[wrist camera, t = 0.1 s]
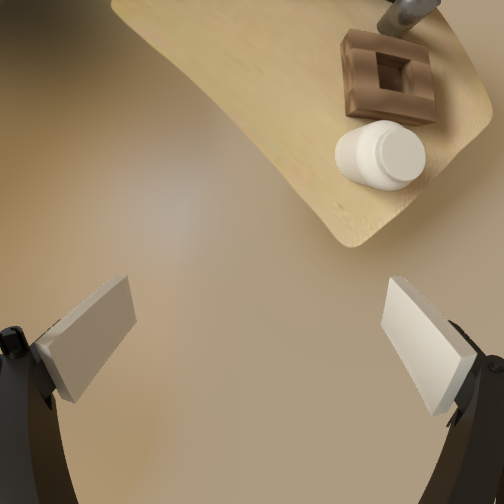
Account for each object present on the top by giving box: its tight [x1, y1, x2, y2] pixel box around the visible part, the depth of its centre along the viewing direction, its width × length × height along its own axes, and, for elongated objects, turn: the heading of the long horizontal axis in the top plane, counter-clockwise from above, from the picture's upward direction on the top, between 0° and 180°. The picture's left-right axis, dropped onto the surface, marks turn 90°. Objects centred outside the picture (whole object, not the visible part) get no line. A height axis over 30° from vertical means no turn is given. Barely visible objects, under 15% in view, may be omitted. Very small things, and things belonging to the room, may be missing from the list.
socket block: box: [340, 29, 437, 126], centre depth 30 cm, size 12×12×6 cm
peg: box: [377, 0, 441, 39], centre depth 22 cm, size 4×4×14 cm
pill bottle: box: [335, 120, 426, 191], centre depth 29 cm, size 8×8×15 cm
